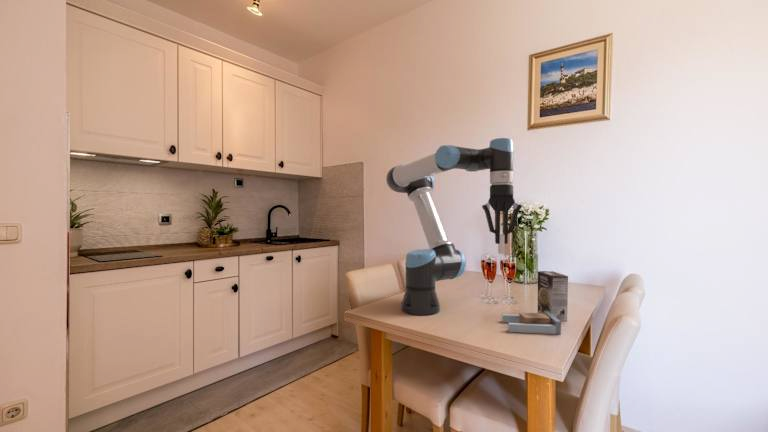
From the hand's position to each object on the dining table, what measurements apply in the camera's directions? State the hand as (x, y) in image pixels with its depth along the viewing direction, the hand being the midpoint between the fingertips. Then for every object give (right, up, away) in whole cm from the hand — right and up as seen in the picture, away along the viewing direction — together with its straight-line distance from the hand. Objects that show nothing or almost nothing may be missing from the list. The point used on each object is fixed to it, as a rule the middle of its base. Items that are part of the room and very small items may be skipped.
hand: (501, 253), depth 111 cm
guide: (+8, -24, -3) cm, 26 cm away
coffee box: (+21, -25, +8) cm, 33 cm away
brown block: (+10, -25, -4) cm, 27 cm away
